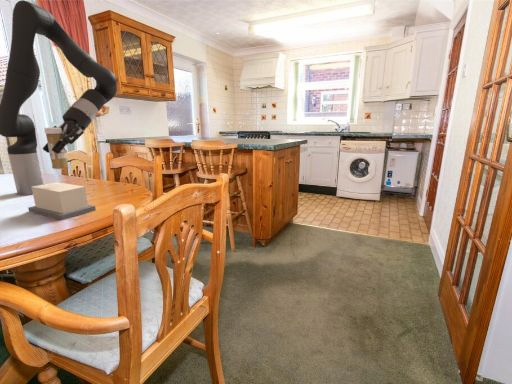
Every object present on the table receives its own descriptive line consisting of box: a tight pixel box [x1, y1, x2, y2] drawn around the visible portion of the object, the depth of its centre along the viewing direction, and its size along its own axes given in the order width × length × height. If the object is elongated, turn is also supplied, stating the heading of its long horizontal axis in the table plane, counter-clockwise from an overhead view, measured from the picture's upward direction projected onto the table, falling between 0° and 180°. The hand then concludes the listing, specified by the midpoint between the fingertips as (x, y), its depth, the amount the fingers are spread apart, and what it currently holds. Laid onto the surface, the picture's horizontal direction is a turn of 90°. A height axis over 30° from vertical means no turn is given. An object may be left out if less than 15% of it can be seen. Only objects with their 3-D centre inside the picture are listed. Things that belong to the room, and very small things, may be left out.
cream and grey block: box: [27, 181, 97, 221], centre depth 89 cm, size 19×11×9 cm, turn 65°
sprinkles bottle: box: [44, 127, 69, 170], centre depth 87 cm, size 5×5×14 cm
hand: (50, 151), depth 85 cm, fingers closed on sprinkles bottle, 4 cm apart
